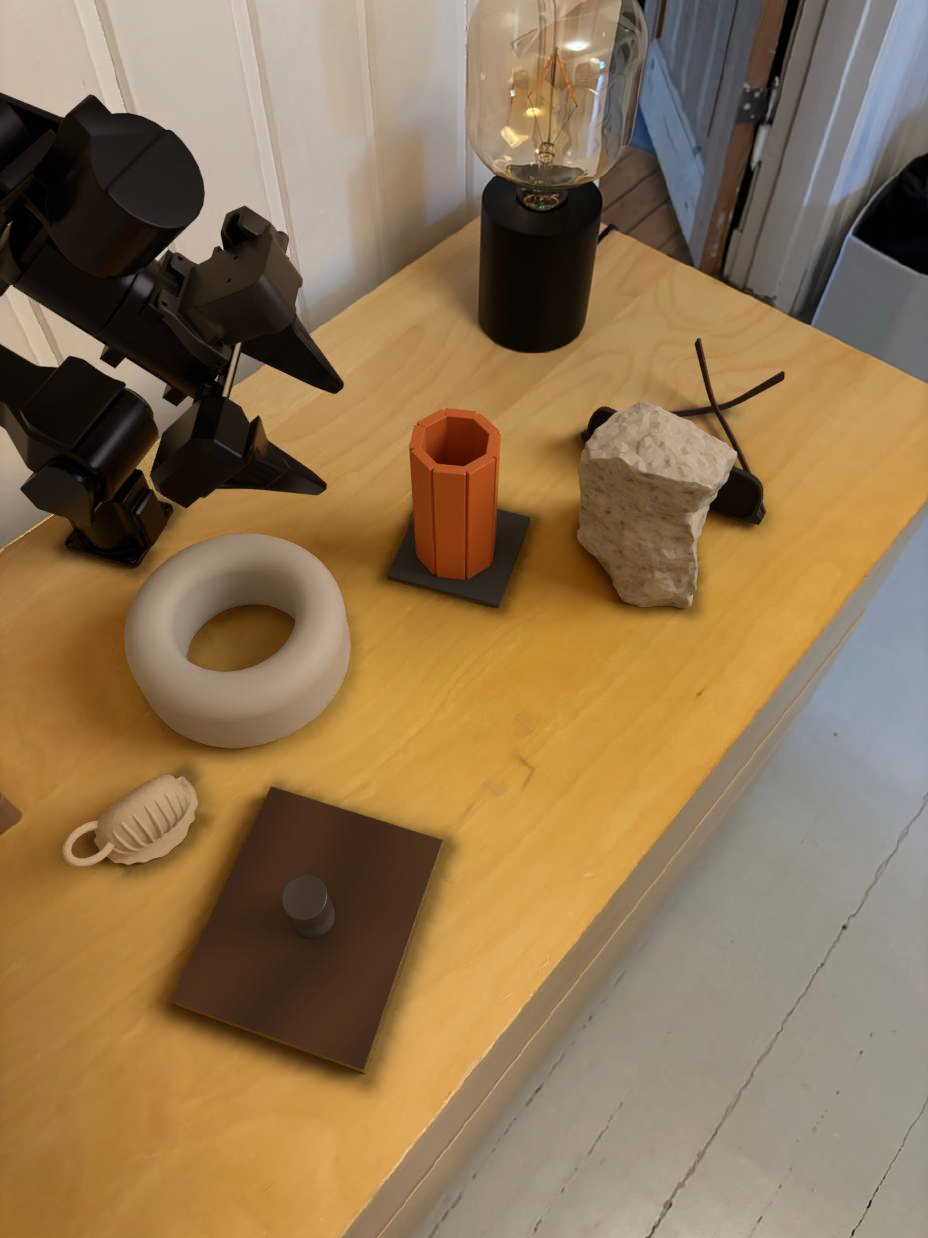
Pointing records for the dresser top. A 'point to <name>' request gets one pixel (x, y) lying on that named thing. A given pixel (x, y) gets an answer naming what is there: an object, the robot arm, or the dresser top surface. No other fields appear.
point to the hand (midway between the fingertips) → (332, 437)
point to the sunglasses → (741, 487)
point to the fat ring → (254, 696)
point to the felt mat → (477, 589)
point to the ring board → (313, 970)
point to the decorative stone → (649, 501)
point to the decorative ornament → (140, 823)
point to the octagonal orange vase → (455, 491)
